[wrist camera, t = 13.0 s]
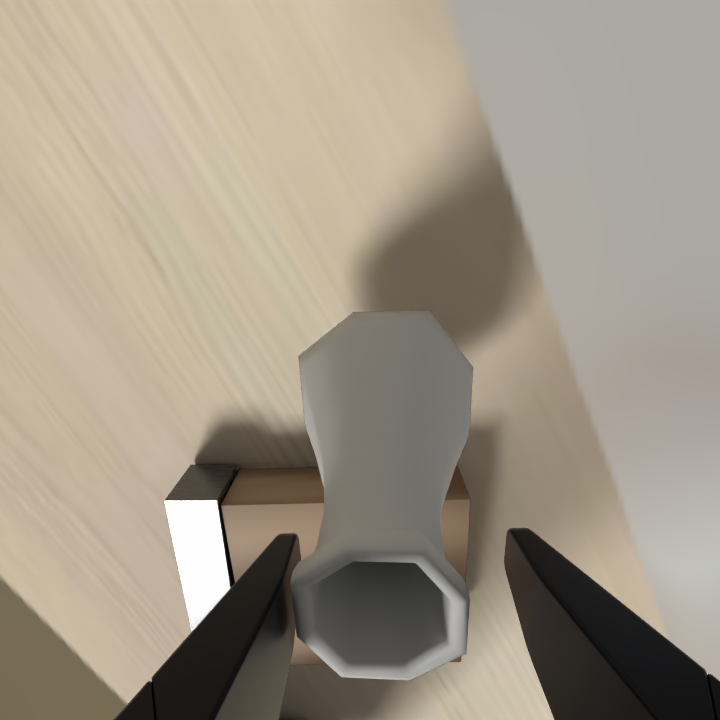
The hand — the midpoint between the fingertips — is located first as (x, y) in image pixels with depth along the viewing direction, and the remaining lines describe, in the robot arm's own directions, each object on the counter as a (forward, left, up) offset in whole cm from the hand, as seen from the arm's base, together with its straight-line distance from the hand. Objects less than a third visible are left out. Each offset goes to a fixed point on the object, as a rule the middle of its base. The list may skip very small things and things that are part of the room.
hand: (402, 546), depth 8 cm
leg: (-17, +10, -12) cm, 23 cm away
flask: (0, 0, -8) cm, 9 cm away
